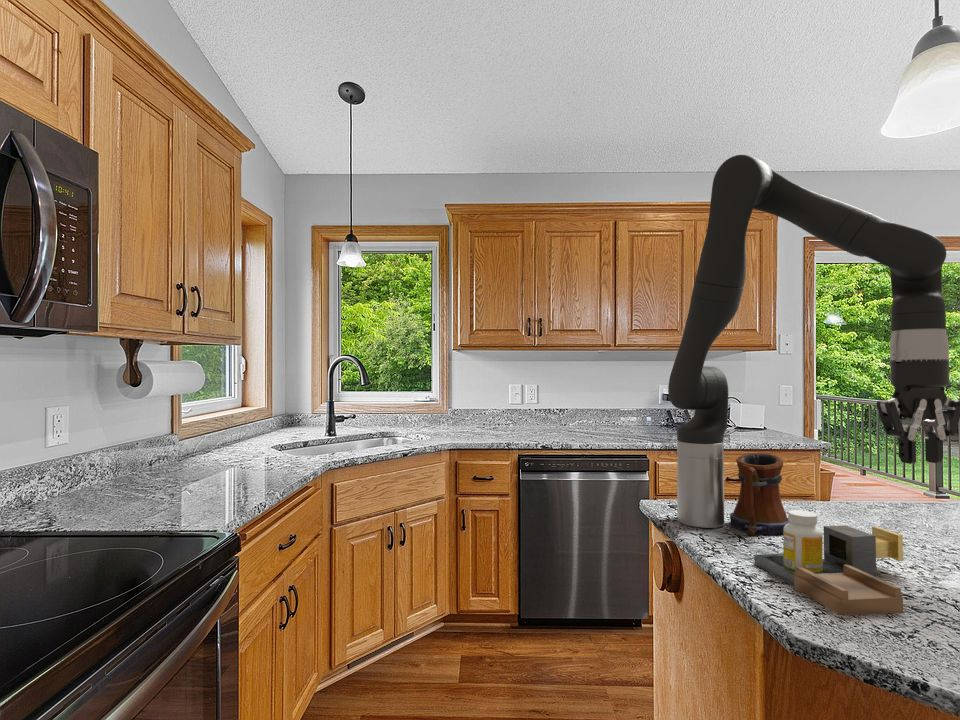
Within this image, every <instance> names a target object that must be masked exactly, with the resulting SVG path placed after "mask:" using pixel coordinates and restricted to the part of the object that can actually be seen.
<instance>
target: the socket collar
mask: <svg viewBox="0 0 960 720" xmlns="http://www.w3.org/2000/svg"><path fill="white" fill-rule="evenodd" d="M753 557H754V559H753V560H754V562H753V563H754V566H755V565H756V566H757V567H759V568H760V569H762V570H764V571H765V572H768V573H769V574H771V575H773V576H775V577H777V578H778V579H780V580H781V581H784V582H785V583H787V584H789V585H791V586H792V587H794V575H796V574H795V573H793V572H791V571H789V570H788V569H786V568H784V565H783V563H784V562H783V561H784V560H783V553H770V554H767V553H766V554H754V555H753ZM823 572H824V573H817V574H831V573H843V568H842V567H840V566H837V565H835V564H833V563H831V562H829V561H827V560H824V558H823Z"/></svg>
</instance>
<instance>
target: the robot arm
mask: <svg viewBox="0 0 960 720" xmlns="http://www.w3.org/2000/svg"><path fill="white" fill-rule="evenodd" d="M711 186H712V187H711V195H710V206H709V213H708V220H707V221H708V222H707V227H706V233H705V236H704V237H705V238H704V241H703V245H702V248H701V253H700V258H699V263H698V267H697V270H696V273H695V274H696V275H695V277H694V283H693V287H692V292H691V296H690V301H689V302H690V303H689V309H688V312H687V313H688V314H687V317H686V320H685V325H684V328H683V329H684V330H683V333H682V337H681V341H680V344H679V347H678V350H677V354H676V355H675V359H674V362H673V366H672V368H671V371H670V375H669V378H668V379H669V380H668V385H667V387H668V389H667V391H668V398H669V401H670V403H671V404H672V406H673V407H674V408H676V409H678V410H683V411H684V410H685V411H686V410H687V411H689V410H691V411H693V410H694V415H693V417H692V418H691V419H690V420H689V421H688V422H686V423H684V424H682V425H680V426H679V427H678V428H677V431H676V439H677V440H676V441H677V442H676V446H677V447H676V454H677V457H676V459H677V460H676V461H677V471H676V472H677V474H676V495H677V496H676V501H677V502H676V503H677V504H676V509H677V513H676V514H677V515H676V516H677V521H678V522H679V523H681V524H683V525H686V526H690V527H695V528H703V529H705V528H707V529H709V528H710V529H711V528H713V529H715V528H720V527H723V526H725V461H724V458H725V456H724V455H725V454H724V435H725V433H726V430H727V427H728V413H729V384H728V381H727V377H726V375H725V373H724V372H723V370H721V369H720V368H718V367H716V366H704V365H705V361H706V359H707V358H706V357H707V355H708V352H709V351H710V349H711V346H712V345H713V343H714V342H715V341H716V340H717V338H718V337H719V335H720V334H721V333H722V332H724V330H725V329H726V328H727V326H728V325H729V324H730V322H731V321H732V320H733V318H734V317H735V315H736V313H737V312H738V309H739V307H740V303H741V299H742V296H743V291H744V287H745V281H746V275H747V274H746V273H747V271H746V270H747V258H746V257H747V251H746V236H747V231H748V227H749V223H750V219H751V216H752V212H753V210H757V211H761V212H764V213H768V214H771V215H773V216H776V217H777V218H778V217H779V218H781V219H783V220H785V221H787V222H790V223H791V224H793V225H795V226H796V227H799V228H800V229H802V230H803V231H805V232H806V233H807V234H808V233H809V234H810V235H811V236H813V237H816V238H817V239H819V240H820V241H823V242H824V243H827V244H829V245H832V246H833V247H835V248H838V249H840V250H842V251H844V252H847V253H849V254H850V255H854V256H856V257H865V258H869V259H870V260H872V261H875V262H877V263H879V264H881V265H884V266H886V267H888V268H889V273H890V274H889V277H890V287H891V296H892V304H891V311H890V312H891V314H890V315H891V316H890V318H891V319H890V321H891V322H890V325H891V335H890V342H889V351H890V352H889V360H890V361H889V362H890V363H889V364H890V365H889V366H890V367H889V368H890V371H889V372H890V385H891V386H893V387H894V391H893V394H892V397H891V398H889V399H886V400H877V402H876V408H877V411H878V415H879V417H880V421H881V423H882V427H883V430H884V432H885V435H887V436H891V437H895V438H896V439H897V441H898V443H897V444H898V458H899V459H900V462H901V463H903V464H909V465H910V464H911V465H915V464H916V463H917V441H916V440H915V439H916V434H917V430H918V428H920V427H921V426H922V427H923V430H924V431H923V432H924V435H925V437H926V438H925V439H924V440H925V441H924V442H925V443H924V446H925V447H924V448H925V461H926V462H927V463H934V464H941V463H942V461H943V459H944V441H945V440H946V438H948V437H954V436H955V435H956V432H957V428H958V426H959V423H960V400H954V399H951V398H948V396H947V394H946V392H945V388H946V387H948V386H950V361H949V360H950V358H949V357H950V356H949V355H950V353H949V350H950V349H949V347H950V346H949V339H948V334H947V330H946V329H947V315H946V313H947V310H946V303H945V299H944V297H943V294H942V291H943V290H942V288H943V287H942V285H943V283H942V282H943V279H942V278H943V276H942V275H943V274H942V273H943V272H942V271H943V264H944V263H945V261H946V259H947V249H946V246H945V243H943V242H942V240H941V239H940V238H938V237H936V236H934V235H933V234H931V233H928V232H927V231H924V230H921V229H918V228H915V227H911V226H909V225H905V224H901V223H899V222H898V223H897V222H892V221H889V220H886V219H883V218H882V217H880V216H878V215H876V214H873V213H870V212H869V211H867V210H864V209H861V208H859V207H856V206H854V205H851V204H849V203H846V202H843V201H841V200H837V199H835V198H832V197H830V196H826V195H823V194H821V193H819V192H818V193H817V192H815V191H813V190H809V189H808V188H805V187H803V186H801V185H799V184H798V183H797V184H796V183H795V182H793V181H791V180H789V179H787V178H786V177H785V176H783V175H782V174H780V173H779V172H777V171H776V170H775V169H773V168H772V167H770V166H769V165H768V164H767V163H766V162H764V161H763V160H761V159H759V158H756V157H753V156H751V155H747V154H736V155H732V156H731V157H729V158H727V159H726V160H725V161H723V163H722V164H721V165H719V167H718V168H717V170H716V172H715V173H714V177H713V181H712V185H711ZM947 423H948V425H947Z"/></svg>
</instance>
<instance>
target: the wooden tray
mask: <svg viewBox="0 0 960 720" xmlns="http://www.w3.org/2000/svg"><path fill="white" fill-rule="evenodd" d="M793 588H794V590H796V591H797V592H799V593H801V594H802V595H805V596H806V597H808V598H810V599H812V600H813V601H815V602H816V603H818V604H820V605H821V606H823V607H825V608H827V609H829V610H830V611H832V612H834V613H836V614H837V615H838V616H842V617H843V616H857V615H858V616H859V615H874V614H875V615H876V614H878V615H879V614H893V613H894V614H896V613H904V597H903V596H902V594H901V593H902V592H901V591H902V590H901V589H902V588H901V587H899V586H897V585H894V584H893V583H890V582H888V581H886V580H884V579H881V578H879V577H877V576H876V577H875V576H873V575H870V574H868V573H866V572H864V571H861V570H859V569H857V568H855V567H852V566H850V565H843V573H831V574H815V573H813V572H811V571H809V570H807V569H805V568H803V567H796V575H794V586H793Z"/></svg>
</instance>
